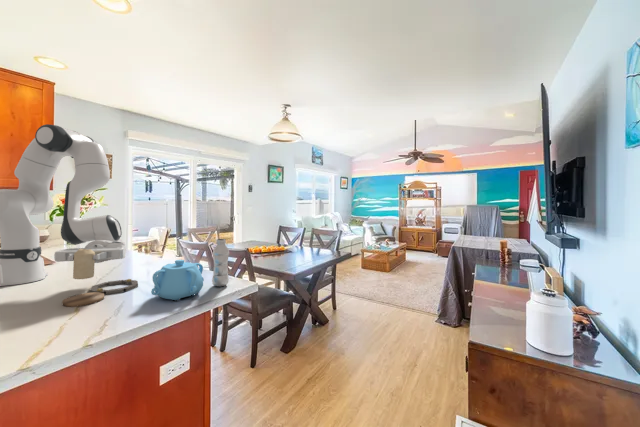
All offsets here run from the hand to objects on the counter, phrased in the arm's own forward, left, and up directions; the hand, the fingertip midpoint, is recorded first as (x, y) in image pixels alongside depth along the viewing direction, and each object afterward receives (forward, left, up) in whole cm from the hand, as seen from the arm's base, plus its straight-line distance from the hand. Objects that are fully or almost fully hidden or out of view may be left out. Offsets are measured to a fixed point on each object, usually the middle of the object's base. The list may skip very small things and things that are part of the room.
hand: (83, 258), depth 92 cm
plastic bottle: (+36, +27, -16) cm, 48 cm away
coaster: (-1, +1, -15) cm, 15 cm away
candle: (-1, +1, -7) cm, 7 cm away
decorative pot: (+27, +13, -16) cm, 34 cm away
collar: (-3, +15, -15) cm, 21 cm away
